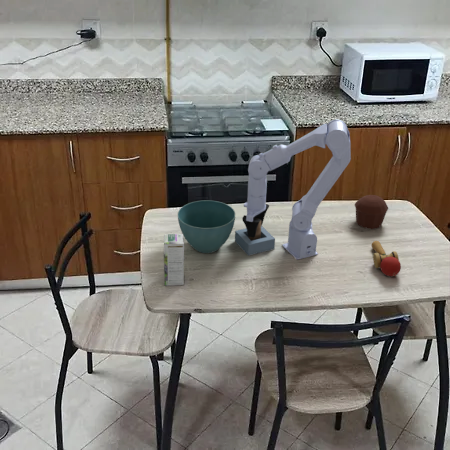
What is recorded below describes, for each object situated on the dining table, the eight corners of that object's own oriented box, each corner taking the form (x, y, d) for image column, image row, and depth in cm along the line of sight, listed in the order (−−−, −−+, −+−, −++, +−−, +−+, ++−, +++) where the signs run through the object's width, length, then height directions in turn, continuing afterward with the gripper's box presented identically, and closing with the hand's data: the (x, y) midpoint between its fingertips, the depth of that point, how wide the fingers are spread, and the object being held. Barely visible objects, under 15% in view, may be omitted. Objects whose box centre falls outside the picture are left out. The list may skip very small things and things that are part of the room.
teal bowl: (223, 266, 178) (224, 232, 172) (169, 255, 183) (168, 221, 177) (241, 238, 193) (242, 205, 187) (190, 228, 198) (190, 196, 192)
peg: (262, 240, 190) (262, 219, 186) (258, 246, 187) (259, 225, 183) (250, 237, 191) (251, 217, 187) (246, 243, 188) (247, 223, 184)
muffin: (367, 212, 211) (371, 187, 206) (391, 224, 203) (396, 198, 198) (345, 221, 204) (349, 196, 199) (370, 234, 197) (374, 208, 192)
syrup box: (164, 275, 174) (162, 233, 167) (184, 274, 174) (183, 233, 167) (164, 286, 169) (162, 244, 162) (184, 285, 169) (184, 243, 162)
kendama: (360, 252, 189) (378, 277, 173) (366, 235, 187) (384, 258, 170) (383, 256, 190) (402, 281, 174) (388, 238, 188) (408, 262, 171)
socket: (274, 249, 188) (275, 238, 186) (248, 255, 184) (248, 244, 182) (260, 235, 195) (260, 224, 193) (234, 241, 191) (235, 230, 189)
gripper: (251, 181, 187) (250, 218, 194) (237, 201, 175) (236, 239, 182) (272, 185, 185) (270, 222, 192) (259, 205, 173) (257, 243, 180)
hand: (255, 230), depth 187 cm, fingers open, 7 cm apart
